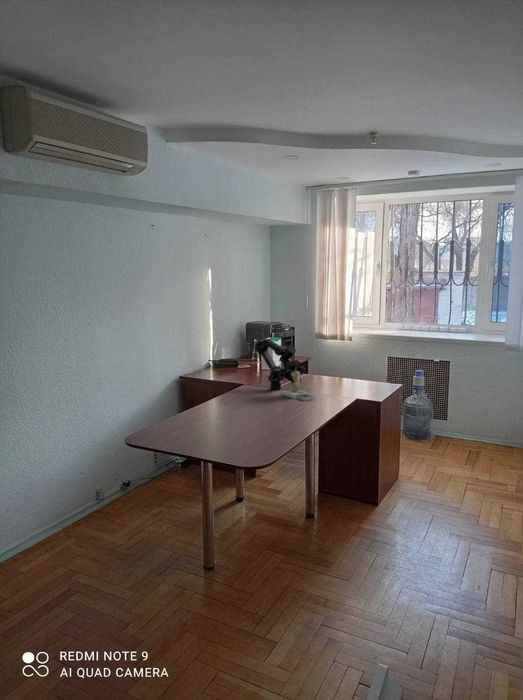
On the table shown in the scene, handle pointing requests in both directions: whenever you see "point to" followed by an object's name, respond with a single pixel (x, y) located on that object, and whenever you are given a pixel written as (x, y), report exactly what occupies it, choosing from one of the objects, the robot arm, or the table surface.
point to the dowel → (296, 381)
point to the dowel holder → (305, 397)
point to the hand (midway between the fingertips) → (296, 382)
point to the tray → (293, 395)
